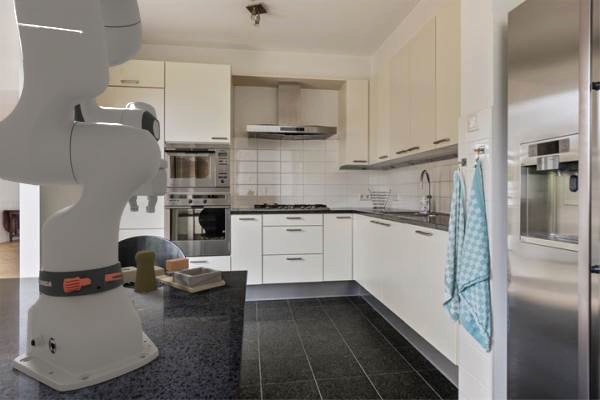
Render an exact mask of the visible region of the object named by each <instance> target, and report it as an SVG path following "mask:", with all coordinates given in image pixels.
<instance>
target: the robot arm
mask: <svg viewBox="0 0 600 400" xmlns="http://www.w3.org/2000/svg"><path fill="white" fill-rule="evenodd" d="M13 6H14V15H15V21H16V26H17V32H18V36H19V43H20V51H21V60H22V69H23V72H22V73H23V86H22V90H21V94H20V96H19V98H18V102H17V104H16V105H15V106H14V108H13V110H12V111H11V112H10V113H9V114H8V115H7V116H6V117H5V118H3V119H2V120H1V121H0V180H3V181H6V182H7V181H9V182H13V183H19V184H25V185H31V186H80V187H83V188H82V193H81V196H80V198H79V199H78V200H77V202H75V203H73V204H71V205H68V206H65V207H64V208H61V209H59V210H57V211H56V212H54V213H52V214H51V215H49V217H47V219H46V220H45V221H44V223H43V225H42V228H41V255H42V256H41V259H42V261H41V262H42V263H41V264H42V265H41V266H42V267H41V269H40V270H39V271H38V272H39V273H38V274H39V275H38V279H37V281H38V282H37V283H38V291H39V293H41V294H40V296H39V297H38V299H37V300H36V301H35V302H34V303H33V304H31V306H30V307H29V308H28V309H27V321H26V322H27V324H26V325H27V326H26V327H27V328H26V352H24V353H22V354H21V355H19V356H17V357H15V358H14V359H13V363H12V368H13V369H16V370H18V371H20V372H21V373H23V374H25V375H27V376H29V377H30V378H32V379H35V380H37V381H38V382H40V383H43V384H44V385H46V386H48V387H51V389H54V390H55V391H58V392H67V391H74V390H79V389H83V388H86V387H91V386H95V385H98V384H101V383H104V382H107V381H109V380H111V379H115V378H117V377H120V376H122V375H125V374H127V373H130V372H132V371H135V370H138V369H139V368H141V367H143V366H145V365H147V364H149V363H151V362H152V361H154V360H155V359H156V358H157V357H158V356H159V355H160V353H159V349H158V347H157V345H156V344H155V343H154V342H153V341H152V340H151V339H150V337H149V336H148V335H147V334H146V332H145V331H144V330H143V324H142V323H144V322H146V319H147V313H146V310H145V308H138V309H137V308H136V307H135V305H136V301H135V298H133V297H132V298H130V296H129V294H128V292H127V290H126V289H125V287H124V284H123V283H124V279H123V270H122V268H123V267H122V265H121V264H122V263H121V262H120V261H119V240H120V239H119V237H120V235H119V234H120V224H121V220H122V215H123V212H124V211H125V208H126V206H127V204H129V210H130V212H132V213H134V212H136V213H137V212H139V211H140V210H139V207H140V205H138V202H137V200H138V196H139V197H143V196H144V197H146V198H147V206H145V212H146V214H155V212H156V205H157V203H158V197H164V196H165V195H166V194H167V189H168V172H167V170H166V169H168V165H169V163H168V161H167V160H166V159H164V158H163V157H162V151H161V147H160V145H159V141H160V140H161V130H160V129H161V126H160V125H161V124H160V121H159V120H158V117H157V113H156V112H157V111H156V108H154V106H152V105H151V104H149V103H145V102H142V101H132V102H128V103H127V104H126V106H125V108H120V107H118V108H117V107H104V106H101V105H99V104H97V97H99V96H101V95H102V94H103V93H105V91H107V88H108V87H109V84H110V80H111V78H110V69H109V68H113V67H117V66H121V65H123V64H126V63H128V62H130V61H131V60H132V59H134V57H136V56H137V55H138V54H139V52H140V51H141V49H142V46H143V27H142V19H141V13H140V8H139V3H138V0H13Z"/></svg>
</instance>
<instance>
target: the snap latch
mask: <svg viewBox="0 0 600 400" xmlns="http://www.w3.org/2000/svg"><path fill="white" fill-rule="evenodd" d="M189 260H190V259H189V258H186V257H179V258H172V259H167V260H165V271H182V270H187V269H190V267H189V265H190V261H189Z"/></svg>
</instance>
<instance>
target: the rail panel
mask: <svg viewBox="0 0 600 400" xmlns="http://www.w3.org/2000/svg"><path fill="white" fill-rule="evenodd" d="M157 281H158V282H157ZM156 282H157V283H160V282H161V283H160V284H163V283H164V284H163V285H166V286H170V287H173V288H176V289H178V290H182V291H185V292H188V293H191V294H192V293H197V292H201V291H204V290H208V289H212V288H217V287H221V286H225V285H226V281H225V280H222V270H218V269H214V268H209V267H205V266H198V267H194V268H187V269H181V270H176V271H168V270H166V271H164V275H162V276H157V277H156Z"/></svg>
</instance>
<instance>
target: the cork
mask: <svg viewBox="0 0 600 400" xmlns="http://www.w3.org/2000/svg"><path fill="white" fill-rule="evenodd" d="M134 258H135V262H136V263H137V265H136V268H137V271H136V279H135V282H134V287H133V288H134V289H133V293H136V292H138V293H137V294H144V293H143V292H146V293H152V292H155V291H157V290H158V284H157V283H158V282H157V281H156V276H155V269H154V266H155V265H154V263H155V260H156V253H155V252H154V251H152V250H140V251H138V252H136V254H135V256H134ZM151 291H152V292H151Z"/></svg>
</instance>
